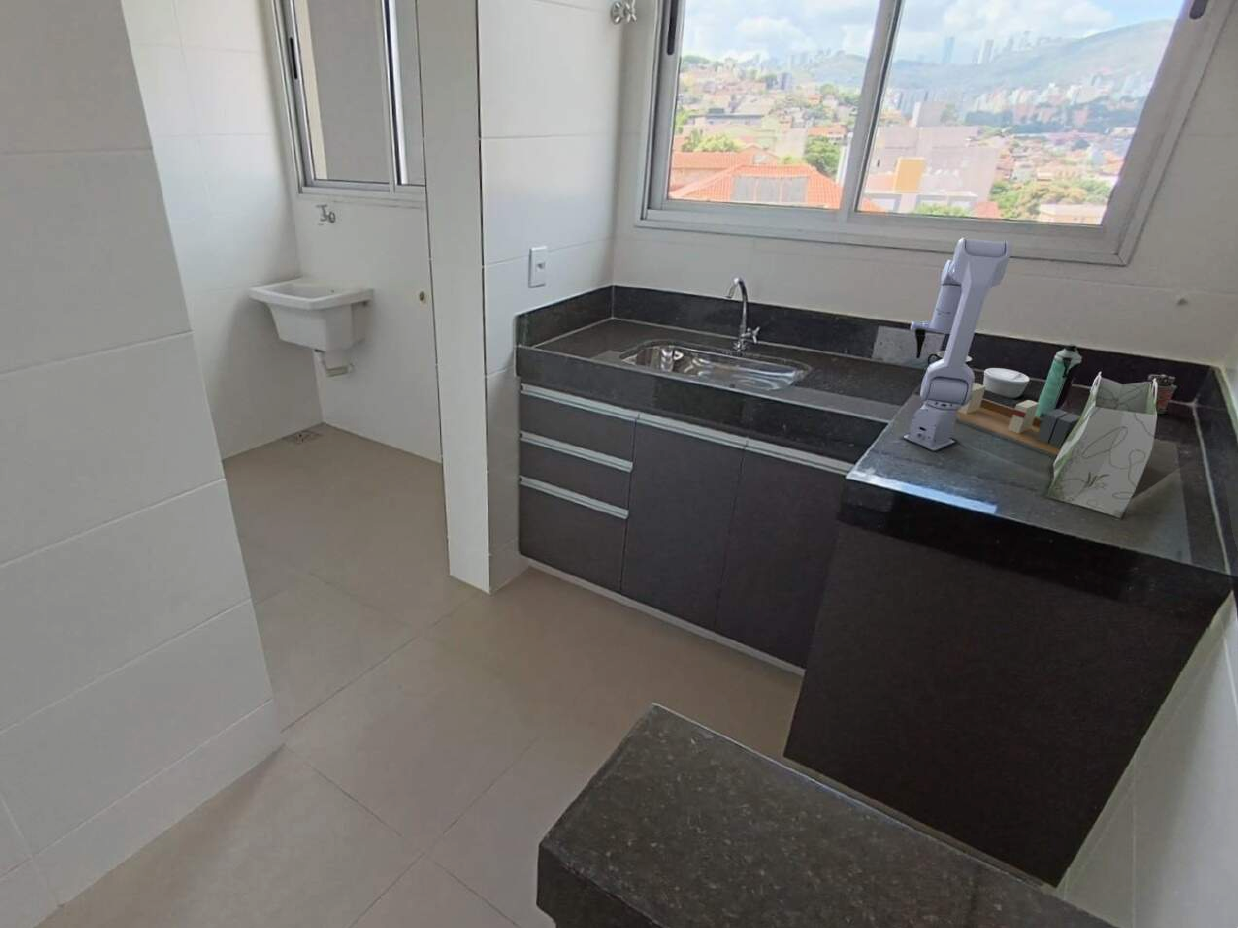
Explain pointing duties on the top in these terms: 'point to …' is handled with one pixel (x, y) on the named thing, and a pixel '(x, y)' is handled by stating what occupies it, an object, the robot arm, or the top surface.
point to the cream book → (1023, 416)
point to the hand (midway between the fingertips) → (933, 358)
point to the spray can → (1059, 381)
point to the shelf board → (1005, 423)
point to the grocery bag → (1107, 447)
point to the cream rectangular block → (974, 399)
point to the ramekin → (1005, 382)
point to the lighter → (1162, 391)
